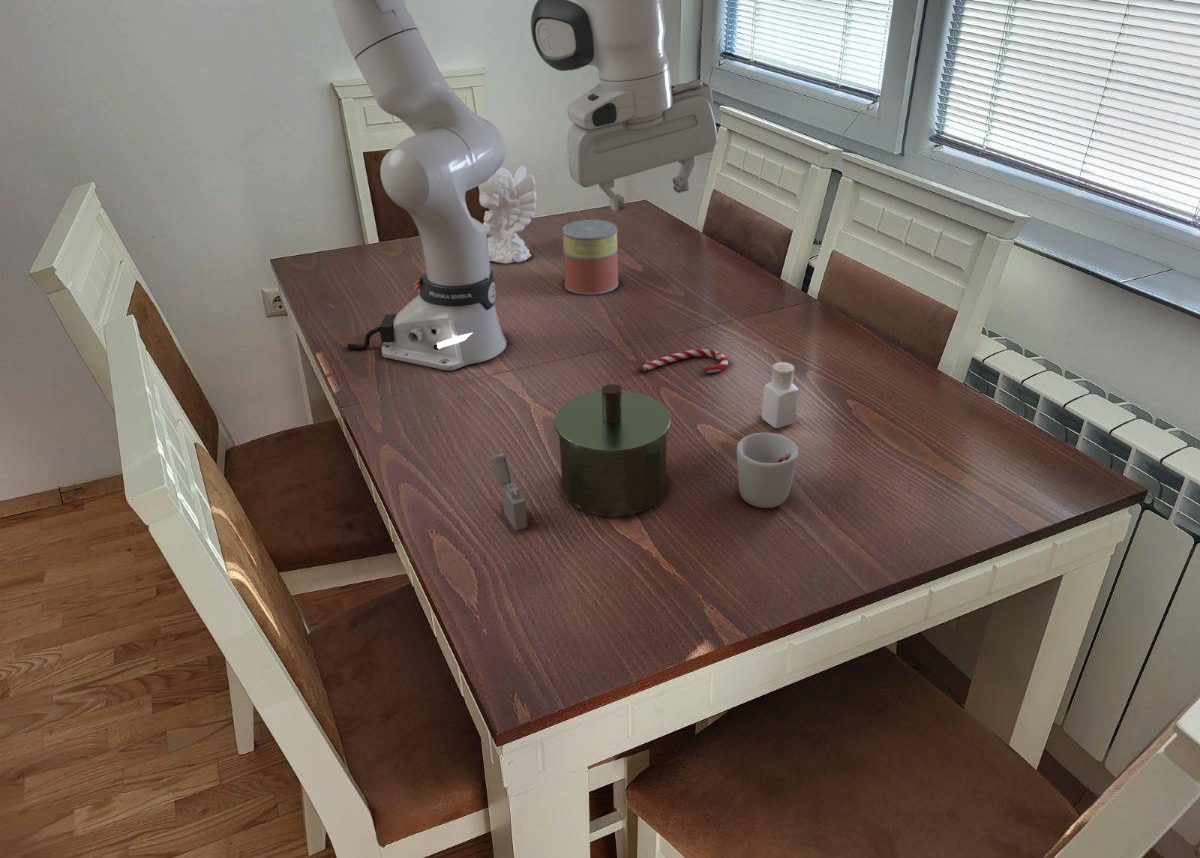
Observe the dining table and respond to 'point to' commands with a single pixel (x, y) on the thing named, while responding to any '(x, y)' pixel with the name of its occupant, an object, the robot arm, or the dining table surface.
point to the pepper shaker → (780, 397)
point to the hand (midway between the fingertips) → (650, 200)
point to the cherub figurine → (507, 213)
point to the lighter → (510, 493)
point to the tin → (613, 479)
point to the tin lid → (612, 421)
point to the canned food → (590, 256)
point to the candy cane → (688, 355)
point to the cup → (765, 468)
